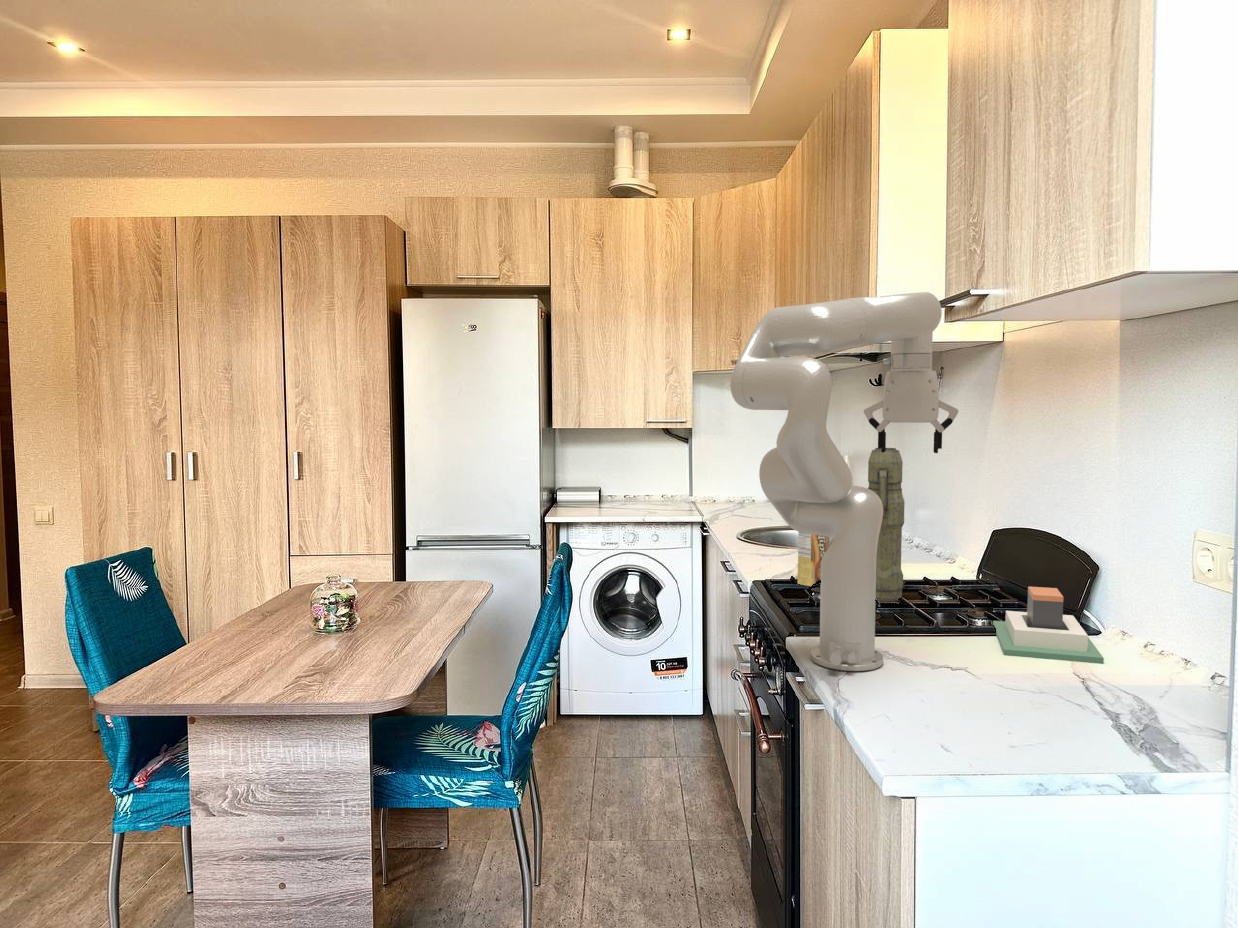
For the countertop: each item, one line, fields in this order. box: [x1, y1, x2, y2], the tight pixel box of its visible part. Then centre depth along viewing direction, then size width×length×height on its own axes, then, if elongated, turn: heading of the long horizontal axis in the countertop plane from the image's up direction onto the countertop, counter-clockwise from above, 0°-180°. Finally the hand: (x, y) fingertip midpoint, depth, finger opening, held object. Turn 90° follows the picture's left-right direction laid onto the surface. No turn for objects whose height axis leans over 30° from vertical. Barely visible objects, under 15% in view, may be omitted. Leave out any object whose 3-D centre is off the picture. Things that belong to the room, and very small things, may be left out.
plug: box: [1026, 586, 1064, 630], centre depth 156 cm, size 7×5×9 cm
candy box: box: [797, 532, 830, 587], centre depth 207 cm, size 9×4×15 cm, turn 137°
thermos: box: [867, 447, 905, 602], centre depth 191 cm, size 9×12×35 cm
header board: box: [992, 610, 1105, 664], centre depth 156 cm, size 20×16×4 cm
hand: (909, 452), depth 160 cm, fingers open, 9 cm apart
